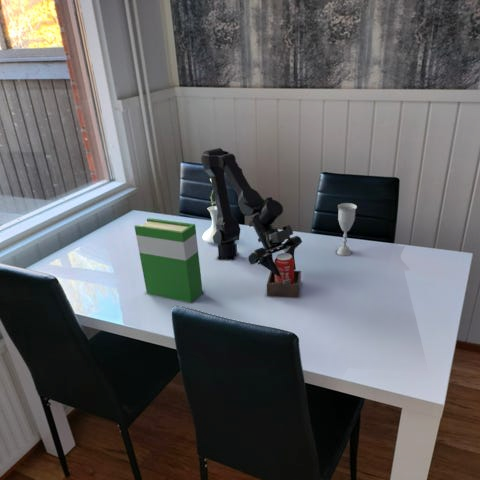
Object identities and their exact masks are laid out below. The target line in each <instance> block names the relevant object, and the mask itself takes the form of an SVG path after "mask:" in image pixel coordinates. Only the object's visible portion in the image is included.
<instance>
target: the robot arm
mask: <svg viewBox="0 0 480 480" xmlns="http://www.w3.org/2000/svg"><path fill="white" fill-rule="evenodd" d="M236 159H237V158H236V156H235V154H233V153H230V151H228V150H224V149H222V148H221V147H216V148H212V149H207V150H204V151H202V155H201V156H200V160H201V164H202V166H203V170H204V171H205V172H206V173H207V175H208V176H209V177H210V178H211V181H212V183H211V186H212V191H213V197H214V202H215V201H216V202H215V206H217V211H218V214H217V224H216V230H217V231H216V233H215V234H214V236H213V241H214V243H213V244H216V245H217V253H218V255H217V260H232V261H233V260H235V259H236V257H237V255H238V244H237V243H236V241H240V235H241V226H240V221H239V219H238V218H236V217H235V216H234V215H233V212H232V208H231V203H230V202H231V201H230V198H229V193H228V187H227V182H226V177H227V178H228V180H229V183H230V184H231V186H232V188H233V189H234V191H235V193H236V195H237V197H238V199H237V204H238V207H239V210H240V212H241V213H242V215H243V216H244V217H250V216H251V217H250V218H249V223H248V227H249V228H250V227H253V229H254V232H255V233H256V235H257V237H258V239H257V241H258V243H261V245H262V247H259V248H257V249H253V250H252V252H251V253H250V254H249V255H248V258H247V259H248V262H249V264H250V266H252V265H254V264H257V265H261V266H263V267H264V268H265V269H267V270H268V271H269V272H270V271H271V272H273V273H274V274H275V275H277V276H280V273H279V271H278V269H277V267H276V265H275V263H274V259H273V254H276V253H278V252H281V251H283V253H288V254H291V255H292V258H293V259H294V271H297V268H296V259H295V250H296V248H298V246H300V245H301V244H302V243H303V240H302V239H301V237H300V236H298V235H295V236H293V235H294V231H293V228H292V226H291V225H289V224H288V225H285V226H283V227H282V230H279V229H278V228H277V227H274V226H273V224H274V223H275V222H276V221H277V220H278V219H279V218H280V217H281V215H282V214H283V212H284V207H283V205H282V204H281V202H279V201H278V200H275V199H273V197H272V196H269V197H266V198H265V199H264V198H263V196H261V194H260V193H259V191H257V190H256V189H255V188H252V187H251V186H250V185H251V184H249V182H248V180H247V178H246V176H245V175H244V173H243V172H242V169H241V168H240V166H239V164H238V163H237V160H236ZM225 175H226V176H225ZM211 181H210V182H211ZM252 216H253V217H252ZM291 236H292V237H291Z"/></svg>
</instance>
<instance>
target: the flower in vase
mask: <svg viewBox="0 0 480 480" xmlns="http://www.w3.org/2000/svg"><path fill="white" fill-rule="evenodd" d="M209 181H210V182H211V184H212V181H211V177H210V178H209ZM213 195H214V191H213V190H212V191H211V194H210V196H209V198H210V201H211V202H210V203H211V204H210V205H211V206H209V207H207V208H206V209H207V210H208V212H209V213H210V217H211V226H210V228H208V229H207V230H206V231H204V233H203V235H202V238H201V239H202V240H203V241H204V242H205V243H208V244H215V243H214V241H213V236H214V234H215V233H216V231H217V230H216V224H217V221H218V211H217V206H216V205H214V204H216V201H215V200H214V199H213Z"/></svg>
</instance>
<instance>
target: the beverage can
mask: <svg viewBox="0 0 480 480" xmlns="http://www.w3.org/2000/svg"><path fill="white" fill-rule="evenodd" d="M294 259H295V258H294ZM294 259H293V258H292V255H291V254H288V253H284V252H280V253H278V254H276V256H275V258H274V259H273V261H274V263H275V265H276V267H277V269H278V271H279V273H280V276H277V275H275V282H274V283H275V284H295V283H294V271H295V270H294Z"/></svg>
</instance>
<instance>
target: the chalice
mask: <svg viewBox="0 0 480 480" xmlns="http://www.w3.org/2000/svg"><path fill="white" fill-rule="evenodd" d="M357 208H358V206H357V205H356V204H354V203H351V202H342V203H339V204H338V205H337V209H338V213H337V214H338V215H337V217H338V218H337V220H338V225H339V226H340V229H341V231H342V232H343V235H342V237H343V239H342V242H343V243H342V245H341V246H340V247H338V250H337V254H338V255H339V256H350V255H351V254H352V252H351V250H350V247H349V246H348V245H347V242H348V240H347V237H348V232H349V231H350V230H351V228H352V227H353V225H354V222H355V220H356V210H357Z"/></svg>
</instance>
